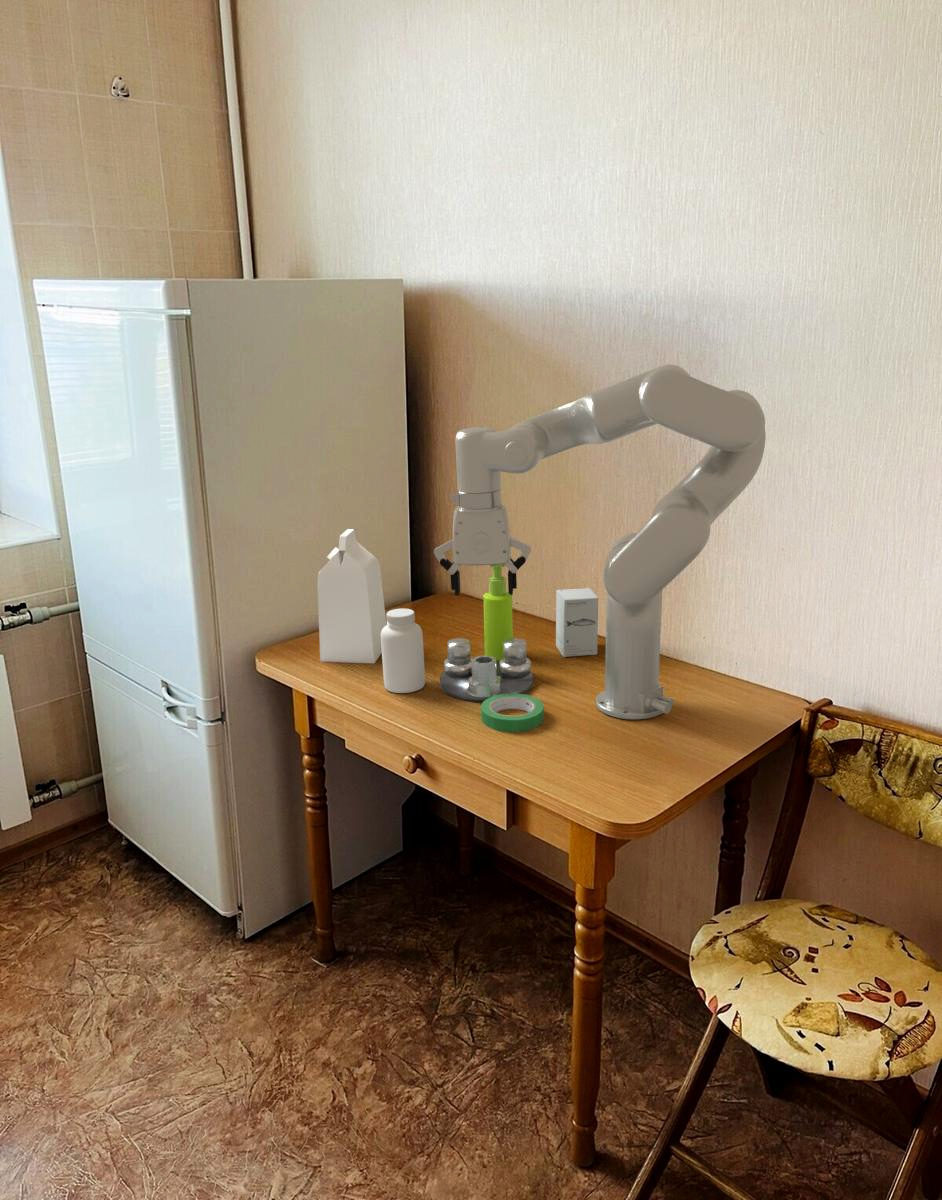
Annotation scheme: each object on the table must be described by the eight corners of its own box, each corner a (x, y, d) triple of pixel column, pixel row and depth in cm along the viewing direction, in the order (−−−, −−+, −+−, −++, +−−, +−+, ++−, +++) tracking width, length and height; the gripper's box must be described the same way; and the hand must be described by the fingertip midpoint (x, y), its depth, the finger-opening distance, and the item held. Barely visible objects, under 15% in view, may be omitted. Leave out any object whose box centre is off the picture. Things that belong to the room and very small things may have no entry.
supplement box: (563, 658, 195) (563, 599, 191) (555, 645, 202) (555, 588, 198) (598, 655, 196) (599, 597, 192) (589, 643, 203) (590, 586, 199)
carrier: (552, 683, 183) (552, 648, 181) (481, 710, 172) (480, 673, 170) (490, 658, 196) (489, 625, 194) (420, 682, 185) (419, 647, 183)
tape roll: (549, 730, 164) (549, 716, 164) (486, 735, 163) (486, 721, 162) (536, 704, 175) (536, 690, 174) (477, 709, 173) (476, 695, 173)
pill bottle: (399, 675, 189) (395, 603, 184) (433, 682, 185) (430, 609, 180) (375, 689, 182) (370, 615, 178) (410, 697, 178) (406, 622, 174)
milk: (374, 663, 195) (366, 540, 187) (320, 661, 197) (310, 539, 189) (388, 642, 207) (381, 525, 199) (337, 641, 208) (328, 525, 200)
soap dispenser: (518, 659, 195) (517, 566, 189) (484, 660, 195) (482, 566, 189) (517, 649, 201) (516, 558, 194) (484, 650, 201) (482, 558, 195)
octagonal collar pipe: (499, 696, 175) (498, 666, 173) (467, 696, 175) (467, 665, 173) (501, 684, 180) (500, 654, 178) (470, 683, 181) (469, 654, 179)
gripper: (428, 505, 164) (434, 600, 169) (529, 502, 162) (531, 598, 167) (433, 496, 171) (439, 588, 176) (530, 493, 169) (532, 585, 174)
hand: (484, 593), depth 172 cm, fingers open, 9 cm apart
